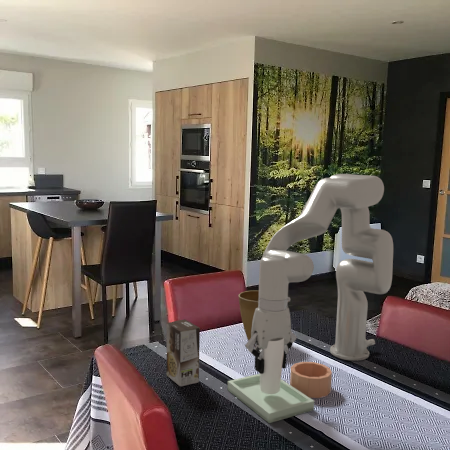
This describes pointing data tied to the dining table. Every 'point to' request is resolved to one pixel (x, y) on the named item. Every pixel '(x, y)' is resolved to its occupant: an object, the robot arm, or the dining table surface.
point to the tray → (270, 399)
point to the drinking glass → (272, 367)
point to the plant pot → (248, 309)
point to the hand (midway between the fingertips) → (270, 368)
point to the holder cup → (311, 379)
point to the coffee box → (183, 352)
